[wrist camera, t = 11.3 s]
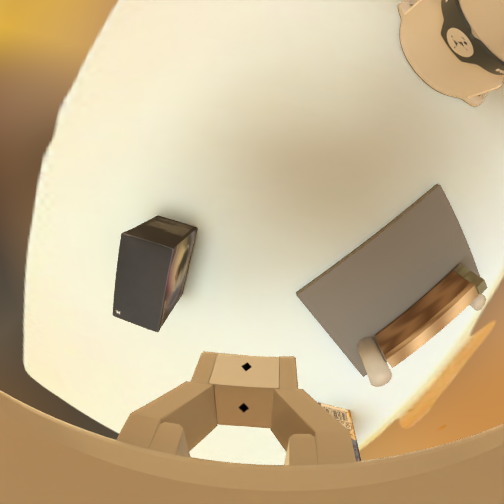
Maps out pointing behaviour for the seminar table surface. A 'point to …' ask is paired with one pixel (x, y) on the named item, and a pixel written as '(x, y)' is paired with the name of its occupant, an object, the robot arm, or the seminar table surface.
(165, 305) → the small box
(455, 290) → the gate
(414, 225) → the grey board with posts
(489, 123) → the seminar table surface
